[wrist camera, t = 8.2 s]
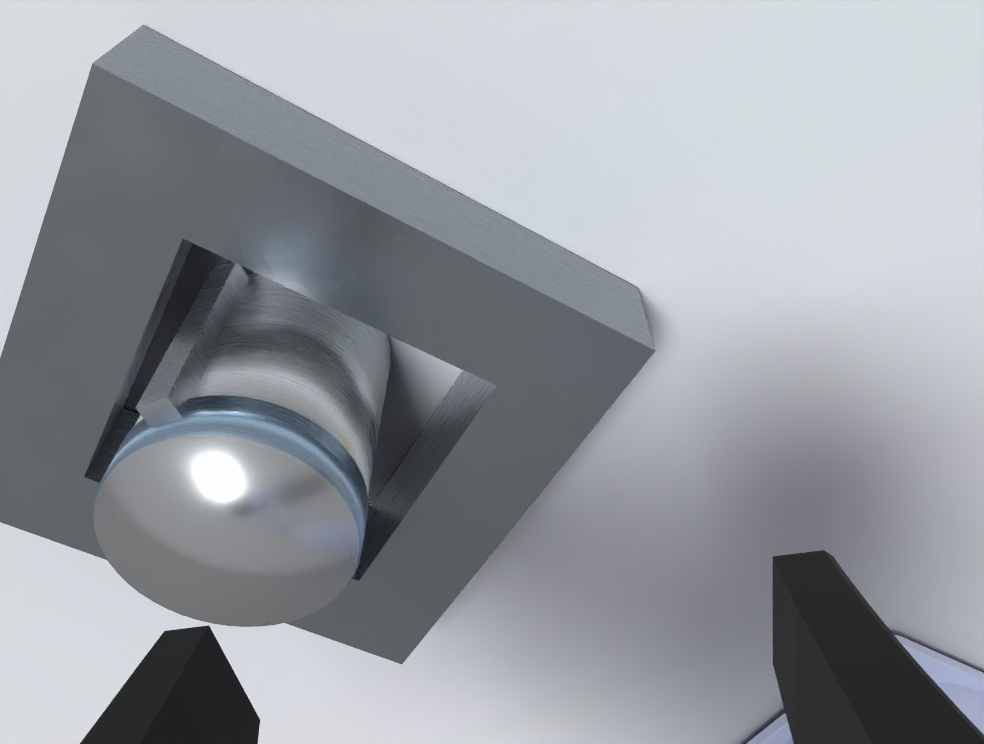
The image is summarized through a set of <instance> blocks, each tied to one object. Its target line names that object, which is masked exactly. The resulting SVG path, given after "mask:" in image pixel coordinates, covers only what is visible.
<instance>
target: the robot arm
mask: <svg viewBox="0 0 984 744" xmlns="http://www.w3.org/2000/svg"><path fill="white" fill-rule="evenodd" d="M773 665H774V669H775V673H776V677H777V681H778V685H779V689H780V693H781V697H782V701H783V705H784V709H785V713H784V714H783V715H781V716H780V717H779V718H778V719H776V720H775V721H774V722H773V723H771V724H770V725H769V726H768V727H766V728H765V729H764V730H763V731H761V732H760V733H759V734H758V735H756V736H755V737H754V738H753V739H751V740H750V741H749V742H748V743H746V744H984V673H983V672H981V671H978V670H976V669H974V668H972V667H969V666H967V665H965V664H963V663H960V662H958V661H956V660H953V659H951V658H949V657H947V656H944V655H942V654H940V653H938V652H935V651H933V650H931V649H929V648H926V647H924V646H922V645H920V644H917V643H915V642H913V641H910V640H908V639H906V638H904V637H901V636H898V635H894V634H893V633H892V632H891V631H890V630H889V628H888V627H887V626H886V625H885V624H884V622H883V621H882V620H881V619H880V618H879V616H878V615H877V614H876V613H875V611H874V610H873V609H872V608H871V606H870V605H869V604H868V603H867V601H866V600H865V599H864V597H863V596H862V595H861V594H860V592H859V591H858V590H857V588H856V587H855V586H854V584H853V583H852V582H851V580H850V579H849V578H848V576H847V575H846V574H845V572H844V571H843V570H842V568H841V567H840V566H839V564H838V563H837V561H836V560H835V559H834V557H833V556H832V555H830V554H829V553H827V552H826V551H824V550H823V551H815V552H806V553H798V554H790V555H782V556H774V557H773ZM259 725H260V719H259V717H258V715H257V714H256V712H255V710H254V708H253V706H252V704H251V702H250V701H249V699H248V697H247V695H246V693H245V691H244V689H243V688H242V686H241V684H240V682H239V680H238V678H237V677H236V675H235V673H234V671H233V669H232V667H231V665H230V664H229V662H228V660H227V658H226V656H225V654H224V653H223V651H222V649H221V647H220V645H219V643H218V641H217V640H216V638H215V636H214V634H213V632H212V630H211V628H210V627H209V626H202V627H194V628H186V629H178V630H169V631H164V633H163V634H162V635H161V637H160V638H159V639H158V641H157V642H156V643H155V644H154V646H153V647H152V648H151V650H150V651H149V652H148V654H147V655H146V656H145V658H144V659H143V660H142V662H141V663H140V664H139V666H138V667H137V668H136V670H135V671H134V672H133V674H132V675H131V676H130V678H129V679H128V680H127V682H126V683H125V684H124V686H123V687H122V688H121V690H120V691H119V692H118V694H117V695H116V696H115V698H114V699H113V700H112V702H111V703H110V704H109V706H108V707H107V708H106V710H105V711H104V712H103V714H102V715H101V716H100V718H99V719H98V720H97V722H96V723H95V724H94V726H93V727H92V728H91V730H90V731H89V732H88V734H87V735H86V736H85V738H84V739H83V740H82V742H81V743H80V744H257V743H258V734H259Z"/></svg>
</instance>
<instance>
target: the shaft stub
mask: <svg viewBox="0 0 984 744" xmlns="http://www.w3.org/2000/svg"><path fill="white" fill-rule="evenodd" d="M390 364H391V349H390V342H389V338H388V334H386V333H383V332H381V331H379V330H377V329H375V328H373V327H371V326H369V325H366V324H364V323H362V322H360V321H358V320H356V319H354V318H351V317H349V316H347V315H345V314H343V313H341V312H339V311H337V310H334V309H332V308H330V307H328V306H326V305H324V304H322V303H319V302H317V301H315V300H313V299H311V298H309V297H307V296H304V295H302V294H300V293H298V292H296V291H294V290H292V289H290V288H287V287H285V286H283V285H281V284H279V283H277V282H275V281H272V280H270V279H268V278H266V277H264V276H262V275H260V274H257V273H255V272H253V271H251V270H249V269H247V268H242V267H241V266H240V265H238V264H236V263H234V262H230V263H227V264H224V265H222V266H219V267H216V268H213V269H212V270H211V272H210V273H209V275H208V277H207V279H206V281H205V282H204V284H203V286H202V288H201V290H200V292H199V293H198V295H197V297H196V299H195V301H194V302H193V304H192V306H191V308H190V310H189V311H188V313H187V315H186V317H185V319H184V321H183V322H182V324H181V326H180V328H179V330H178V331H177V333H176V335H175V337H174V339H173V340H172V342H171V344H170V346H169V348H168V349H167V351H166V353H165V355H164V357H163V359H162V360H161V362H160V364H159V366H158V368H157V369H156V371H155V373H154V375H153V377H152V378H151V380H150V382H149V384H148V386H147V387H146V389H145V391H144V393H143V395H142V397H141V398H140V400H139V402H138V404H137V406H136V407H135V408H136V409H137V411H138V412H139V413H140V416H139V418H138V420H137V421H136V423H135V425H134V427H133V428H132V429H131V430H130V432H129V433H128V434H127V435H126V437H125V438H124V440H123V442H122V443H121V445H120V447H119V448H118V450H117V452H116V454H115V456H114V458H113V459H112V461H111V463H110V465H109V467H108V469H107V471H106V472H105V474H104V476H103V478H102V480H101V482H100V483H99V486H98V488H97V491H96V494H95V497H94V504H93V522H94V527H95V532H96V536H97V540H98V542H99V545H100V547H101V549H102V551H103V553H104V555H105V556H106V558H107V560H108V561H109V563H110V564H111V565H112V567H113V568H114V569H115V570H116V572H117V573H118V574H119V575H120V576H121V577H122V578H123V579H124V580H125V581H126V582H127V583H128V584H129V585H131V586H132V587H133V588H134V589H136V590H137V591H138V592H139V593H141V594H142V595H144V596H145V597H147V598H149V599H150V600H152V601H153V602H155V603H157V604H159V605H161V606H163V607H165V608H167V609H169V610H171V611H174V612H176V613H179V614H181V615H184V616H187V617H190V618H193V619H196V620H200V621H205V622H209V623H214V624H221V625H228V626H242V627H252V626H267V625H276V624H280V623H285V622H290V621H293V620H296V619H299V618H302V617H305V616H307V615H309V614H311V613H314V612H316V611H317V610H319V609H321V608H322V607H324V606H326V605H327V604H328V603H330V602H331V601H332V600H333V599H334V598H336V597H337V596H338V595H339V594H340V593H341V592H342V591H343V590H344V588H345V587H346V586H347V585H348V584H349V582H350V581H351V579H352V578H353V576H354V574H355V572H356V570H357V567H358V565H359V562H360V557H361V552H362V546H363V540H364V534H365V528H366V522H367V516H368V494H369V488H370V482H371V476H372V470H373V464H374V459H375V453H376V447H377V441H378V435H379V429H380V423H381V417H382V411H383V406H384V400H385V394H386V388H387V382H388V376H389V370H390Z"/></svg>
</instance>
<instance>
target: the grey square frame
mask: <svg viewBox="0 0 984 744" xmlns="http://www.w3.org/2000/svg"><path fill="white" fill-rule="evenodd" d="M192 244H196V245H198V246H200V247H202V248H204V249H206V250H208V251H210V252H213V253H215V254H217V255H219V256H221V257H223V258H225V259H228V260H230V261H232V262H234V263H236V264H238V265H240V266H243V267H245V268H247V269H249V270H251V271H253V272H255V273H257V274H260V275H262V276H264V277H266V278H268V279H270V280H272V281H275V282H277V283H279V284H281V285H283V286H285V287H287V288H290V289H292V290H294V291H296V292H298V293H300V294H302V295H304V296H307V297H309V298H311V299H313V300H315V301H317V302H319V303H322V304H324V305H326V306H328V307H330V308H332V309H334V310H337V311H339V312H341V313H343V314H345V315H347V316H349V317H351V318H354V319H356V320H358V321H360V322H362V323H364V324H366V325H369V326H371V327H373V328H375V329H377V330H379V331H381V332H383V333H386V334H388V335H390V336H392V337H394V338H396V339H398V340H401V341H403V342H405V343H407V344H409V345H411V346H413V347H416V348H418V349H420V350H422V351H424V352H426V353H428V354H430V355H433V356H435V357H437V358H439V359H441V360H443V361H445V362H448V363H450V364H452V365H454V366H456V367H458V368H460V369H463V371H462V373H461V374H460V376H459V377H458V379H457V380H456V382H455V383H454V385H453V386H452V388H451V389H450V391H449V392H448V394H447V395H446V397H445V398H444V400H443V401H442V403H441V404H440V406H439V407H438V409H437V410H436V412H435V413H434V415H433V416H432V418H431V419H430V421H429V422H428V423H427V425H426V426H425V428H424V429H423V431H422V432H421V434H420V435H419V437H418V438H417V440H416V441H415V443H414V444H413V446H412V447H411V449H410V450H409V452H408V453H407V455H406V456H405V458H404V459H403V461H402V462H401V464H400V465H399V467H398V468H397V470H396V471H395V473H394V474H393V476H392V477H391V479H390V480H389V481H388V483H387V484H386V486H385V487H384V489H383V490H382V492H381V493H380V495H379V496H378V498H377V499H376V501H375V502H374V504H373V505H372V507H368V516H367V522H366V528H365V534H364V540H363V546H362V552H361V557H360V562H359V565H358V567H357V570H356V572H355V574H354V576H353V578H352V579H351V581H350V582H349V584H348V585H347V586H346V587H345V588H344V590H343V591H342V592H341V593H340V594H339V595H338V596H337V597H336V598H334V599H333V600H332V601H331V602H330V603H328V604H327V605H326V606H324V607H322V608H321V609H319V610H317V611H316V612H314V613H311V614H309V615H307V616H305V617H302V618H299V619H296V620H293V621H290V622H285V623H287V624H290V625H292V626H295V627H298V628H301V629H304V630H307V631H309V632H312V633H315V634H318V635H321V636H323V637H326V638H329V639H332V640H335V641H338V642H340V643H343V644H346V645H349V646H352V647H355V648H357V649H360V650H363V651H366V652H369V653H371V654H374V655H377V656H380V657H383V658H386V659H388V660H391V661H394V662H397V663H400V664H403V662H404V661H405V660H406V659H407V657H408V656H409V655H410V654H411V652H412V651H413V650H414V649H415V648H416V646H417V645H418V644H419V643H420V641H421V640H422V639H423V638H424V636H425V635H426V634H427V633H428V631H429V630H430V629H431V628H432V626H433V625H434V624H435V623H436V622H437V620H438V619H439V618H440V617H441V615H442V614H443V613H444V612H445V610H446V609H447V608H448V607H449V605H450V604H451V603H452V602H453V600H454V599H455V598H456V597H457V596H458V594H459V593H460V592H461V591H462V589H463V588H464V587H465V586H466V584H467V583H468V582H469V581H470V579H471V578H472V577H473V576H474V575H475V573H476V572H477V571H478V570H479V568H480V567H481V566H482V565H483V563H484V562H485V561H486V560H487V558H488V557H489V556H490V555H491V553H492V552H493V551H494V550H495V549H496V547H497V546H498V545H499V544H500V542H501V541H502V540H503V539H504V537H505V536H506V535H507V534H508V532H509V531H510V530H511V529H512V527H513V526H514V525H515V524H516V523H517V521H518V520H519V519H520V518H521V516H522V515H523V514H524V513H525V511H526V510H527V509H528V508H529V506H530V505H531V504H532V503H533V502H534V500H535V499H536V498H537V497H538V495H539V494H540V493H541V492H542V490H543V489H544V488H545V487H546V485H547V484H548V483H549V482H550V480H551V479H552V478H553V477H554V476H555V474H556V473H557V472H558V471H559V469H560V468H561V467H562V466H563V464H564V463H565V462H566V461H567V459H568V458H569V457H570V456H571V454H572V453H573V452H574V451H575V450H576V448H577V447H578V446H579V445H580V443H581V442H582V441H583V440H584V438H585V437H586V436H587V435H588V433H589V432H590V431H591V430H592V429H593V427H594V426H595V425H596V424H597V422H598V421H599V420H600V419H601V417H602V416H603V415H604V414H605V412H606V411H607V410H608V409H609V407H610V406H611V405H612V404H613V403H614V401H615V400H616V399H617V398H618V396H619V395H620V394H621V393H622V391H623V390H624V389H625V388H626V386H627V385H628V384H629V383H630V381H631V380H632V379H633V378H634V377H635V375H636V374H637V373H638V372H639V370H640V369H641V368H642V367H643V365H644V364H645V363H646V362H647V360H648V359H649V358H650V357H651V356H652V354H653V353H654V352H655V348H654V344H653V340H652V337H651V333H650V330H649V326H648V322H647V319H646V315H645V311H644V308H643V304H642V301H641V297H640V293H639V290H638V288H637V287H635V286H633V285H632V284H630V283H628V282H626V281H624V280H622V279H620V278H618V277H617V276H615V275H613V274H611V273H609V272H607V271H605V270H603V269H601V268H600V267H598V266H596V265H594V264H592V263H590V262H588V261H586V260H585V259H583V258H581V257H579V256H577V255H575V254H573V253H571V252H570V251H568V250H566V249H564V248H562V247H560V246H558V245H556V244H554V243H553V242H551V241H549V240H547V239H545V238H543V237H541V236H539V235H538V234H536V233H534V232H532V231H530V230H528V229H526V228H524V227H522V226H521V225H519V224H517V223H515V222H513V221H511V220H509V219H507V218H506V217H504V216H502V215H500V214H498V213H496V212H494V211H492V210H490V209H489V208H487V207H485V206H483V205H481V204H479V203H477V202H475V201H474V200H472V199H470V198H468V197H466V196H464V195H462V194H460V193H458V192H457V191H455V190H453V189H451V188H449V187H447V186H445V185H443V184H442V183H440V182H438V181H436V180H434V179H432V178H430V177H428V176H426V175H425V174H423V173H421V172H419V171H417V170H415V169H413V168H411V167H410V166H408V165H406V164H404V163H402V162H400V161H398V160H396V159H394V158H393V157H391V156H389V155H387V154H385V153H383V152H381V151H379V150H378V149H376V148H374V147H372V146H370V145H368V144H366V143H364V142H362V141H361V140H359V139H357V138H355V137H353V136H351V135H349V134H347V133H346V132H344V131H342V130H340V129H338V128H336V127H334V126H332V125H330V124H329V123H327V122H325V121H323V120H321V119H319V118H317V117H315V116H314V115H312V114H310V113H308V112H306V111H304V110H302V109H300V108H298V107H297V106H295V105H293V104H291V103H289V102H287V101H285V100H283V99H282V98H280V97H278V96H276V95H274V94H272V93H270V92H268V91H266V90H265V89H263V88H261V87H259V86H257V85H255V84H253V83H251V82H250V81H248V80H246V79H244V78H242V77H240V76H238V75H236V74H234V73H233V72H231V71H229V70H227V69H225V68H223V67H221V66H219V65H218V64H216V63H214V62H212V61H210V60H208V59H206V58H204V57H202V56H201V55H199V54H197V53H195V52H193V51H191V50H189V49H187V48H186V47H184V46H182V45H180V44H178V43H176V42H174V41H172V40H170V39H169V38H167V37H165V36H163V35H161V34H159V33H157V32H155V31H154V30H152V29H150V28H148V27H146V26H144V25H143V26H141V27H140V28H139V29H137V30H136V31H135V32H133V33H132V34H131V35H129V36H128V37H127V38H125V39H124V40H123V41H121V42H120V43H119V44H118V45H116V46H115V47H114V48H112V49H111V50H110V51H108V52H107V53H106V54H104V55H103V56H102V57H100V58H99V59H98V60H96V61H95V62H94V63H93V64H92V67H91V70H90V73H89V77H88V80H87V83H86V86H85V89H84V92H83V96H82V99H81V102H80V105H79V108H78V112H77V115H76V118H75V121H74V124H73V128H72V131H71V134H70V137H69V140H68V144H67V147H66V150H65V153H64V156H63V160H62V163H61V166H60V169H59V172H58V176H57V179H56V182H55V185H54V188H53V192H52V195H51V198H50V201H49V204H48V208H47V211H46V214H45V217H44V220H43V224H42V227H41V230H40V233H39V236H38V240H37V243H36V246H35V249H34V252H33V256H32V259H31V262H30V265H29V268H28V272H27V275H26V278H25V281H24V284H23V288H22V291H21V294H20V297H19V300H18V304H17V307H16V310H15V313H14V316H13V319H12V323H11V326H10V329H9V332H8V335H7V339H6V342H5V345H4V348H3V351H2V355H1V358H0V522H2V523H4V524H7V525H10V526H13V527H16V528H19V529H21V530H24V531H27V532H30V533H33V534H35V535H38V536H41V537H44V538H47V539H50V540H52V541H55V542H58V543H61V544H64V545H67V546H69V547H72V548H75V549H78V550H81V551H83V552H86V553H89V554H92V555H95V556H98V557H100V558H103V559H106V560H107V558H106V556H105V555H104V553H103V551H102V549H101V547H100V545H99V542H98V540H97V536H96V532H95V527H94V522H93V504H94V497H95V494H96V491H97V488H98V486H99V483H100V482H101V480H102V478H103V476H104V474H105V472H106V471H107V469H108V467H109V465H110V463H111V461H112V459H113V458H114V456H115V454H116V452H117V450H118V448H119V447H120V445H121V443H122V442H123V440H124V438H125V437H126V435H127V434H128V433H129V432H130V430H131V429H132V428H133V427H134V425H135V423H136V421H137V420H138V418H139V416H140V414H139V413H136V412H134V411H131V410H129V409H126V408H124V405H125V403H126V400H127V398H128V396H129V393H130V391H131V389H132V386H133V384H134V382H135V379H136V377H137V374H138V372H139V370H140V367H141V365H142V363H143V360H144V358H145V355H146V353H147V351H148V348H149V346H150V344H151V341H152V339H153V337H154V334H155V332H156V329H157V327H158V325H159V322H160V320H161V318H162V315H163V313H164V311H165V308H166V306H167V303H168V301H169V299H170V296H171V294H172V292H173V289H174V287H175V285H176V282H177V280H178V277H179V275H180V273H181V270H182V268H183V266H184V263H185V261H186V258H187V256H188V254H189V251H190V249H191V247H192Z"/></svg>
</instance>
